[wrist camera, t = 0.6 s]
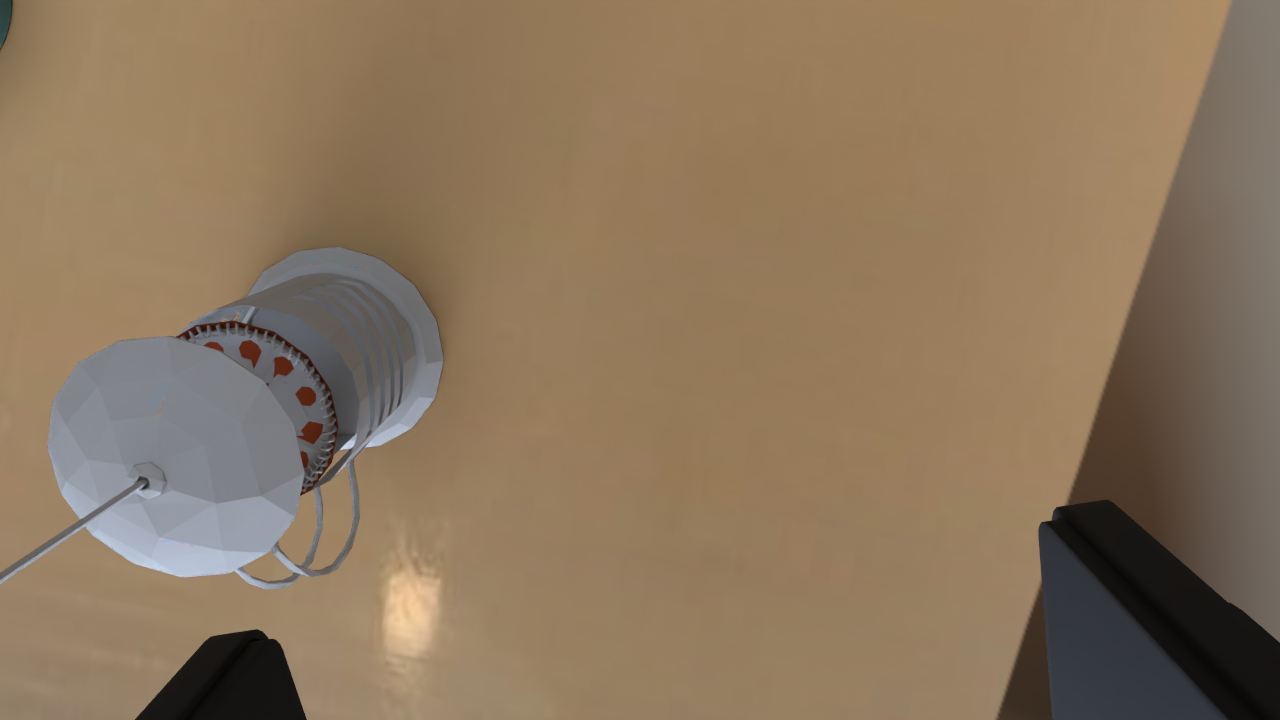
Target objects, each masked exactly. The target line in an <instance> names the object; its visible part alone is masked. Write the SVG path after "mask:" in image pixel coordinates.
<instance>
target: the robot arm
mask: <svg viewBox="0 0 1280 720" xmlns="http://www.w3.org/2000/svg"><path fill="white" fill-rule="evenodd" d="M1039 548H1040V562H1041V575H1042V588H1043V601H1044V613H1045V626H1046V627H1045V628H1046V641H1047V654H1048V665H1049V666H1048V667H1049V680H1050V694H1051V707H1052V717H1053V720H1280V643H1279V642H1278V641H1277V640H1276V639H1275V638H1274V637H1272V636H1271V635H1270V634H1269V633H1268V632H1267V631H1265V630H1264V629H1263V628H1262V627H1261V626H1260V625H1259V624H1257V623H1256V622H1255V621H1254V620H1253V619H1252V618H1250V617H1249V616H1248V615H1247V614H1246V613H1244V612H1243V611H1242V610H1241V609H1239V608H1238V607H1236V606H1235V605H1233V604H1231V603H1228V602H1227V601H1226V600H1224V599H1223V598H1222V597H1221V596H1220V595H1219V594H1218V593H1216V592H1215V591H1214V590H1213V589H1212V588H1211V587H1210V586H1208V585H1207V584H1206V583H1205V582H1204V581H1203V580H1201V579H1200V578H1199V577H1198V576H1197V575H1196V574H1195V573H1193V572H1192V571H1191V570H1190V569H1189V568H1188V567H1187V566H1185V565H1184V564H1183V563H1182V562H1181V561H1180V560H1179V559H1177V558H1176V557H1175V556H1174V555H1173V554H1172V553H1170V552H1169V551H1168V550H1167V549H1166V548H1165V547H1164V546H1162V545H1161V544H1160V543H1159V542H1158V541H1157V540H1156V539H1154V538H1153V537H1152V536H1151V535H1150V534H1149V533H1147V532H1146V531H1145V530H1144V529H1143V528H1142V527H1141V526H1139V525H1138V524H1137V523H1136V522H1135V521H1134V520H1132V519H1131V518H1130V517H1129V516H1128V515H1127V514H1126V513H1125V512H1123V511H1122V510H1121V509H1120V508H1119V507H1118V506H1117V505H1115V504H1114V503H1113V502H1111V501H1109V500H1101V501H1094V502H1088V503H1081V504H1075V505H1068V506H1061V507H1056V509H1055V510H1054V512H1053V516H1052V521H1046V522H1042V523H1041V524H1040V526H1039ZM135 720H307V719H306V716H305V713H304V711H303V708H302V705H301V702H300V699H299V696H298V693H297V690H296V687H295V684H294V681H293V678H292V675H291V672H290V670H289V667H288V664H287V661H286V658H285V655H284V652H283V649H282V647H281V645H280V644H279V643H278V641H277V640H274V639H268V637H267V636H266V635H265V634H264V633H263V632H262V631H260V630H257V629H256V630H249V631H243V632H236V633H230V634H223V635H217V636H212V637H210V638H209V639H207V640H206V641H205V642H204V643H203V644H202V645H201V646H200V648H199V649H198V650H197V651H196V652H195V653H194V654H193V655H192V656H191V658H190V659H189V660H188V661H187V662H186V663H185V664H184V665H183V667H182V668H181V669H180V670H179V671H178V672H177V673H176V674H175V675H174V677H173V678H172V679H171V680H170V681H169V682H168V683H167V684H166V686H165V687H164V688H163V689H162V690H161V691H160V692H159V693H158V694H157V696H156V697H155V698H154V699H153V700H152V701H151V702H150V703H149V705H148V706H147V707H146V708H145V709H144V710H143V711H142V712H141V713H140V715H139V716H138V717H137V718H136V719H135Z"/></svg>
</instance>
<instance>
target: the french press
mask: <svg viewBox="0 0 1280 720" xmlns="http://www.w3.org/2000/svg"><path fill="white" fill-rule="evenodd" d="M238 312H240V315H239V318H238V319H237V321H232V320H233V319H234V317H235V315H236V313H238ZM228 316H229V317H228ZM226 317H228V318H227V320H226V322H220V321H221V319H224V318H226ZM443 362H444V359H443V354H442V348H441V342H440V337H439V331H438V326H437V321H436V319H435V317H434V316H433V314H432V313H431V311H430V309H429V308H428V306H427V305H426V303H425V301H424V300H423V298H422V297H421V295H420V293H419V292H418V290H417V289H416V287H415V285H414V284H413V283H411V282H410V281H409V280H407V279H406V278H405V277H403V276H402V275H401V274H399V273H398V272H397V271H395V270H394V269H393V268H391V267H390V266H389V265H387V264H386V263H385V262H383V261H382V260H381V259H379V258H376V257H373V256H369V255H366V254H362V253H359V252H355V251H352V250H348V249H345V248H341V247H331V248H322V249H313V250H304V251H297V252H295V253H293V254H292V255H290V256H288V257H287V258H285V259H283V260H282V261H280V262H278V263H277V264H275V265H273V266H272V267H270V268H268V269H266V270H265V271H263V272H262V274H261V275H260V277H259V278H258V280H257V281H256V283H255V284H254V286H253V287H252V289H251V290H250V292H249V293H248V295H247V296H246V297H245V298H243V299H240V300H238V301H235V302H233V303H230V304H228V305H225V306H223V307H220V308H218V309H215V310H213V311H211V312H209V313H208V314H206V315H204V316H202V317H200V318H198V319H196V320H194V321H192V322H191V323H190V324H189V325H188V326H187V327H186V328H185V329H184V330H183V331H182V332H181V333H180V334H179V335H178V336H177V337H174V336H164V337H153V338H141V339H129V340H121V341H117V342H115V343H113V344H112V345H110V346H108V347H106V348H104V349H102V350H101V351H99V352H97V353H95V354H93V355H91V356H90V357H88V358H86V359H84V360H82V361H80V362H79V363H77V365H76V366H75V368H74V370H73V371H72V373H71V374H70V376H69V377H68V379H67V380H66V382H65V383H64V385H63V386H62V388H61V389H60V391H59V392H58V394H57V395H56V397H55V399H54V400H53V404H52V412H51V421H50V429H49V437H48V445H47V448H48V451H49V455H50V458H51V461H52V465H53V468H54V472H55V475H56V478H57V482H58V485H59V489H60V492H61V494H62V496H63V497H64V498H65V500H66V501H67V502H68V504H69V505H70V506H71V508H72V509H73V510H74V512H75V513H76V515H77V516H78V517H79V519H80V520H79V521H78V522H76V523H75V524H73V525H72V526H70V527H69V528H67V529H66V530H64V531H63V532H61V533H60V534H58V535H56V536H55V537H53V538H52V539H50V540H49V541H47V542H46V543H44V544H43V545H41V546H40V547H38V548H37V549H35V550H34V551H32V552H31V553H29V554H28V555H26V556H25V557H23V558H22V559H20V560H19V561H17V562H16V563H14V564H13V565H11V566H10V567H8V568H7V569H5V570H4V571H2V572H1V573H0V584H1V583H2V582H4V581H5V580H7V579H8V578H10V577H11V576H13V575H14V574H16V573H17V572H19V571H20V570H22V569H23V568H24V567H26V566H27V565H29V564H30V563H32V562H33V561H35V560H36V559H38V558H39V557H41V556H42V555H44V554H45V553H47V552H48V551H50V550H51V549H52V548H54V547H55V546H57V545H58V544H60V543H61V542H63V541H64V540H66V539H67V538H69V537H70V536H72V535H73V534H75V533H76V532H77V531H79V530H80V529H82V528H83V527H86V528H87V529H88V531H89V532H90V533H91V534H92V535H93V536H94V537H96V538H97V539H99V540H100V541H102V542H103V543H105V544H106V545H107V546H109V547H110V548H112V549H113V550H115V551H116V552H118V553H119V554H121V555H122V556H123V557H125V558H126V559H128V560H129V561H131V562H132V563H134V564H137V565H141V566H144V567H148V568H151V569H155V570H158V571H162V572H165V573H169V574H172V575H176V576H179V577H192V576H204V575H215V574H227V573H230V572H232V571H235V572H237V573H238V574H239V575H240V576H241V577H242V578H243V579H244V580H245V581H246V582H247V583H249V584H252V585H255V586H258V587H261V588H264V589H267V590H268V589H276V588H284V587H286V586H288V585H290V584H292V583H294V582H295V581H296V580H297V579H298V578H299V576H300V575H301V574H302V575H305V576H308V577H314V576H320V575H325V574H329V573H331V572H333V571H335V570H337V569H338V567H339V566H340V564H341V563H342V562H343V560H344V559H345V557H346V556H347V554H348V553H349V551H350V550H351V549H352V545H353V542H354V538H355V534H356V530H357V527H358V523H359V519H360V508H359V491H358V485H357V480H356V474H355V469H354V458H355V457H356V456H357V455H358V454H359V453H360V452H361V451H362V450H363V448H365V447H375V446H380V445H382V444H384V443H386V442H388V441H389V440H391V439H393V438H395V437H397V436H399V435H401V434H402V433H404V432H406V431H408V430H410V429H412V428H413V427H414V425H415V424H416V423H417V421H418V420H419V419H420V417H421V416H422V415H423V413H424V412H425V411H426V410H427V408H428V407H429V406H430V404H431V403H432V402H433V400H434V399H435V397H436V392H437V388H438V384H439V379H440V375H441V371H442V366H443ZM344 449H350V450H349V451H348V452H347V453H346V454H345V455H344V456H343V457H342V458H341V459H340V460H339V461H338V462H337V463H336V464H335V465H334V466H333V467H332V468H331V469H330V470H329V471H328V472H327V474H326V475H325V476H324V477H323V478H322V479H321V480H320V481H319V479H320V478H321V476H322V475H323V473H324V472H325V471H326V469H327V468H328V467H329V465H330V464H331V463H332V459H333V455H334V454H335V453H336V452H338V451H339V450H344ZM346 464H347V466H348V473H349V479H350V485H351V491H352V502H353V522H352V528H351V534H350V536H349V538H348V541H347V543H346V545H345V547H344V549H343V551H342V552H341V553H340V555H339V556H338V557H337V559H336V560H335V562H334V563H333V564H332V565H330V566H328V567H326V568H323V569H321V570H310V569H307V567H308V566H309V565H310V564H311V563H312V562H313V559H314V555H315V552H316V548H317V545H318V541H319V538H320V535H321V531H322V521H323V503H322V497H321V490H320V486H321V485H322V484H324V483H326V482H328V481H330V480H331V479H332V478H333V477H334V476H335V475H336V474H337V473H338V472H339V471H340V470H341V469H342V468H343V467H344V466H345V465H346ZM313 489H314V494H315V502H316V513H317V529H316V533H315V536H314V540H313V543H312V546H311V548H310V551H309V553H308V555H307V557H306V560H305V562H304V563H303V564H302V565H301V566H299V565H296V564H293V563H292V562H291V560H290V559H289V558H288V557H287V556H286V555H285V554H284V553H283V552H282V551H281V549H280V548H279V545H278V540H279V538H280V537H281V536H282V535H283V533H284V532H285V531H286V530H287V528H288V527H289V526H290V524H291V523H292V522H293V521H294V519H295V518H296V514H297V509H298V504H299V499H300V496H301V495H303V494H305V493H307V492H308V491H311V490H313ZM270 550H272V552H273V554H274V555H275V556H276V557H277V558H278V559H279V560H280V561H281V562H282V563H283V564H284V565H285V566H286V567H288V568H289V569H290V570H291V571H292V572H295V573H294V574H293V575H292V576H290V577H288V578H286V579H284V580H278V581H270V582H267V581H265V580H262V579H259V578H256V577H253V576H250V575H249V574H248V573H247V572H246V571H245V570H244V569H243V568H242V566H244V565H246V564H247V563H249V562H251V561H253V560H255V559H257V558H259V557H261V556H263V555H265V554H267V553H268V552H269V551H270Z"/></svg>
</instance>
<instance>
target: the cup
mask: <svg viewBox="0 0 1280 720" xmlns="http://www.w3.org/2000/svg"><path fill="white" fill-rule="evenodd" d="M11 4H12V3H11V0H0V49H1V47H2V44H3V42H4V40H5V38H6V35H7V32H8V29H9V24H10V18H11Z"/></svg>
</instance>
